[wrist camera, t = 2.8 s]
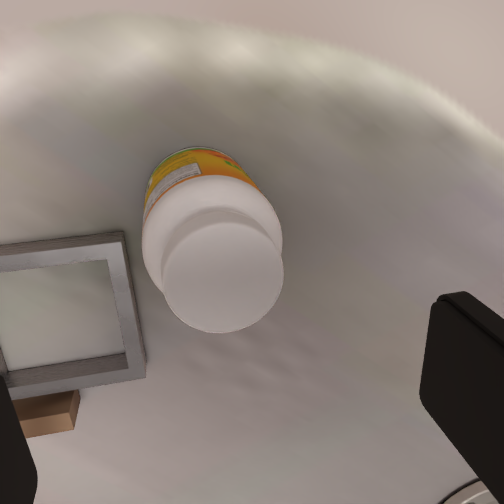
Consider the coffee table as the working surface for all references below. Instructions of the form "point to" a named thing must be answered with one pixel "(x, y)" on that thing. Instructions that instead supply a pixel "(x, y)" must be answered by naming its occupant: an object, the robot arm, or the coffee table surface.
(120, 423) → the coffee table surface
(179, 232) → the supplement bottle
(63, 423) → the bay
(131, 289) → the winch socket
